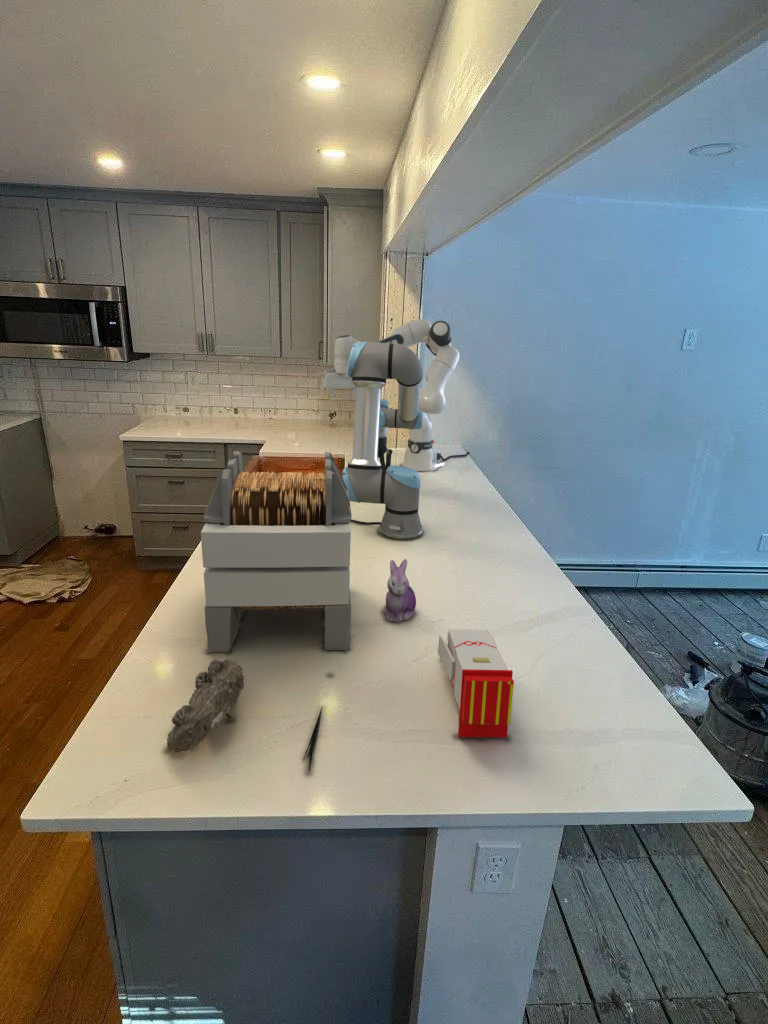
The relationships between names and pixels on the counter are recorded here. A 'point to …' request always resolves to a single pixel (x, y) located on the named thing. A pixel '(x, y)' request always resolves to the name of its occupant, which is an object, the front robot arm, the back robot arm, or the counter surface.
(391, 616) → the figurine
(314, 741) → the feather
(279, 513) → the record storage crate
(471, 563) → the counter surface
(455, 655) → the toy
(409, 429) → the back robot arm
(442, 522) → the counter surface
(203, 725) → the fossil
